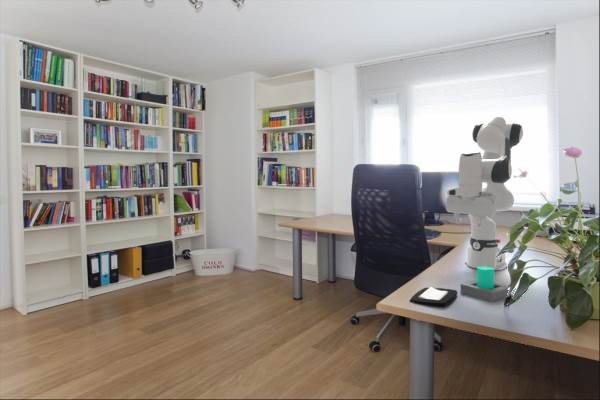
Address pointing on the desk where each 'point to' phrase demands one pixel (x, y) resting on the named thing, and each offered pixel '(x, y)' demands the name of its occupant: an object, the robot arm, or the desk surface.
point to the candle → (485, 277)
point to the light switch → (434, 296)
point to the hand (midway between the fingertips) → (469, 225)
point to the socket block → (484, 291)
